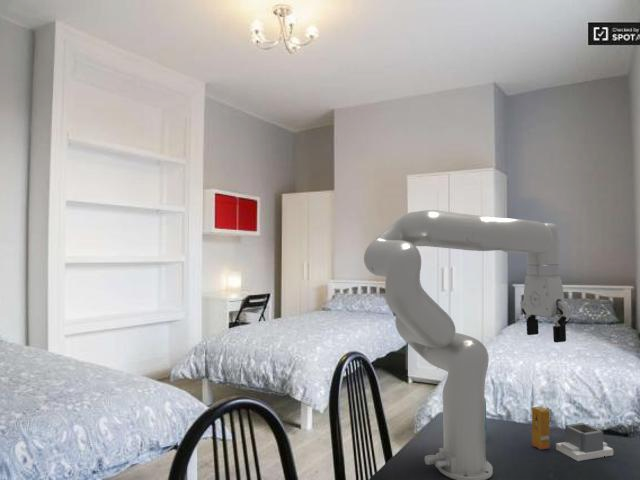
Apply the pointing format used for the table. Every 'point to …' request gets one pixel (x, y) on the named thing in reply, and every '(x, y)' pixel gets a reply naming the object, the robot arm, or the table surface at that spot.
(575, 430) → the grey slotted holder
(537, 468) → the table surface
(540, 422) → the supplement box
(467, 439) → the robot arm
